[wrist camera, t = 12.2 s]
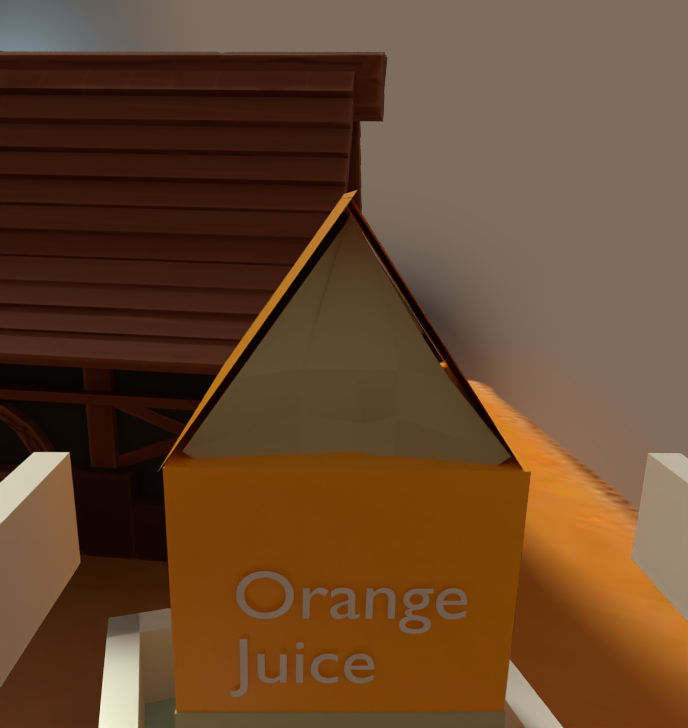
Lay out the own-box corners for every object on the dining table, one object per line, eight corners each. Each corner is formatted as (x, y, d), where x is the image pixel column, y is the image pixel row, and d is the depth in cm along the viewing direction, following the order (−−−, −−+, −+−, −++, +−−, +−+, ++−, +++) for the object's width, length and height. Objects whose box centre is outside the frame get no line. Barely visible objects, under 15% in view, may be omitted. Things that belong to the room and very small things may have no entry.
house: (379, 428, 57) (393, 93, 50) (350, 635, 30) (372, -39, 23) (24, 407, 61) (-13, 89, 53) (-292, 575, 33) (-459, -30, 26)
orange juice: (427, 710, 25) (464, 197, 20) (480, 978, 16) (571, 195, 11) (232, 711, 25) (218, 190, 19) (182, 983, 16) (133, 184, 11)
